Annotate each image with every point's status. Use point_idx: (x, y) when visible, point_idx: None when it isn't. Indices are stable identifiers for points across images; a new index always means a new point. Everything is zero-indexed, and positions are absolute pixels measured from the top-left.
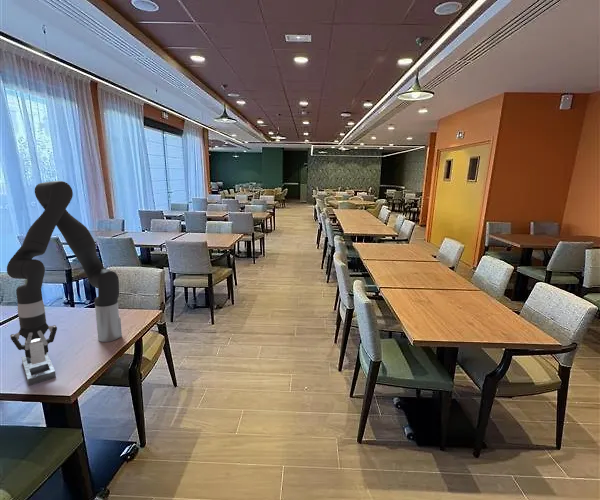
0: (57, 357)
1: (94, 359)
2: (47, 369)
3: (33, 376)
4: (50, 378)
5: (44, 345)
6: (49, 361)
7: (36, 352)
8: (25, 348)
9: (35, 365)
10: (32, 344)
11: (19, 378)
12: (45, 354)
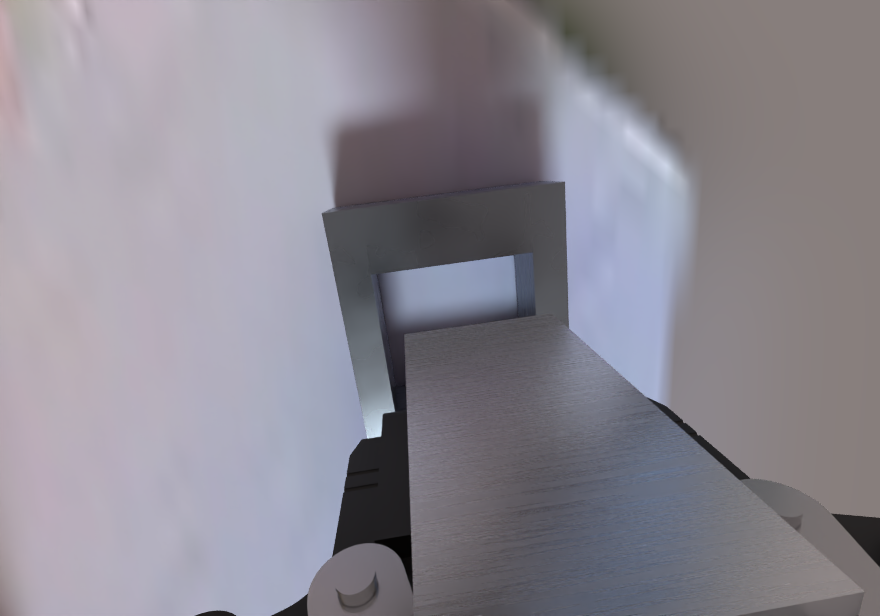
0: None
1: (12, 382)
2: (403, 386)
3: (516, 214)
4: (376, 202)
5: (396, 559)
6: None
7: (540, 405)
8: (818, 516)
9: None
10: (750, 586)
11: None
12: (398, 411)
